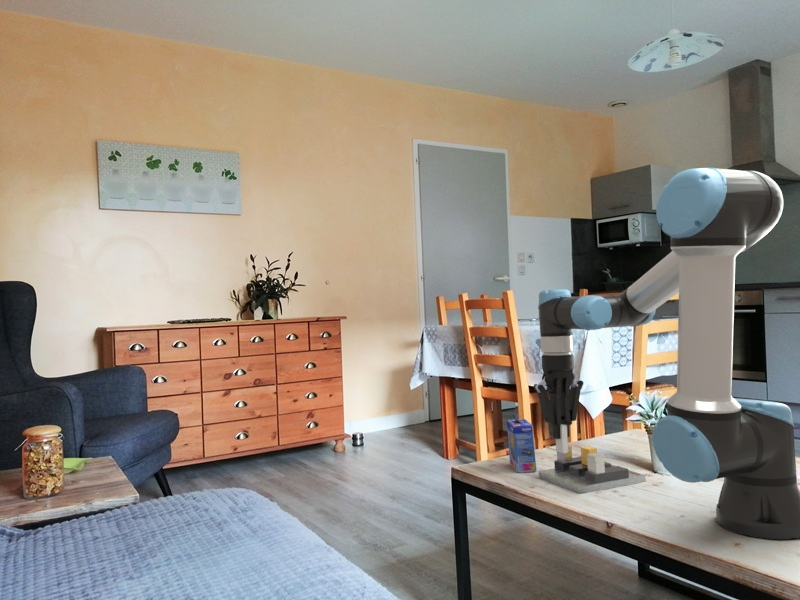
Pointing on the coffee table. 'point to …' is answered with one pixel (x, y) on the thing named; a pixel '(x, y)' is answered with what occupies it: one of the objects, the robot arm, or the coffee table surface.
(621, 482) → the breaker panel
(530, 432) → the ink cartridge box
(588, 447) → the block
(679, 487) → the coffee table surface
